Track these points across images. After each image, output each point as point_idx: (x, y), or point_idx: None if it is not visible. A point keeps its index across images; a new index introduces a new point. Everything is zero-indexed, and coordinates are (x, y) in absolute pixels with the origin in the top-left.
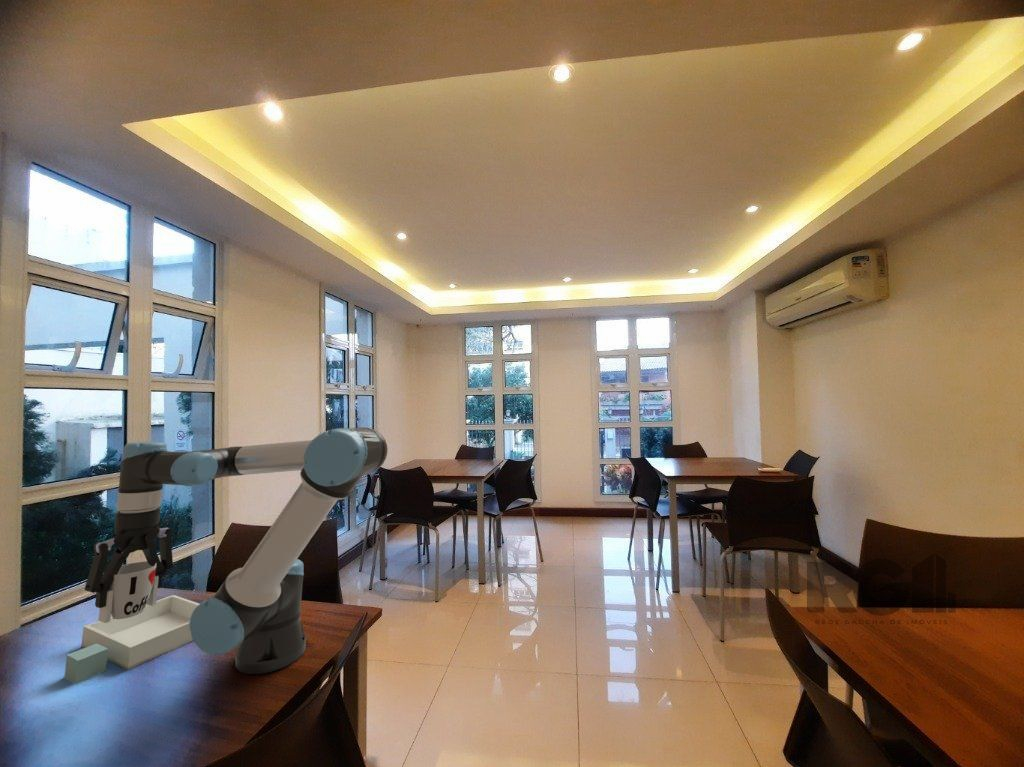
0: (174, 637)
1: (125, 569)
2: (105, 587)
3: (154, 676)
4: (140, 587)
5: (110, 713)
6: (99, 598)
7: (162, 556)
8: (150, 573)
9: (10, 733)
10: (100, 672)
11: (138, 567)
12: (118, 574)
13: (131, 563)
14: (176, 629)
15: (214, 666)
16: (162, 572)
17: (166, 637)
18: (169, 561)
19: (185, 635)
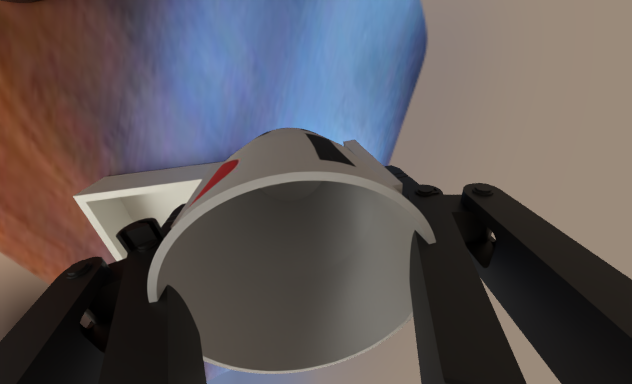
0: (186, 174)
1: (302, 337)
2: (431, 198)
3: (241, 91)
4: (284, 135)
5: (323, 25)
6: (414, 183)
7: (85, 378)
8: (219, 177)
9: (404, 113)
10: None
11: (247, 333)
12: (328, 314)
13: (279, 369)
14: (178, 180)
15: (134, 2)
16: (141, 233)
17: (200, 175)
18: (54, 305)
19: (166, 174)
